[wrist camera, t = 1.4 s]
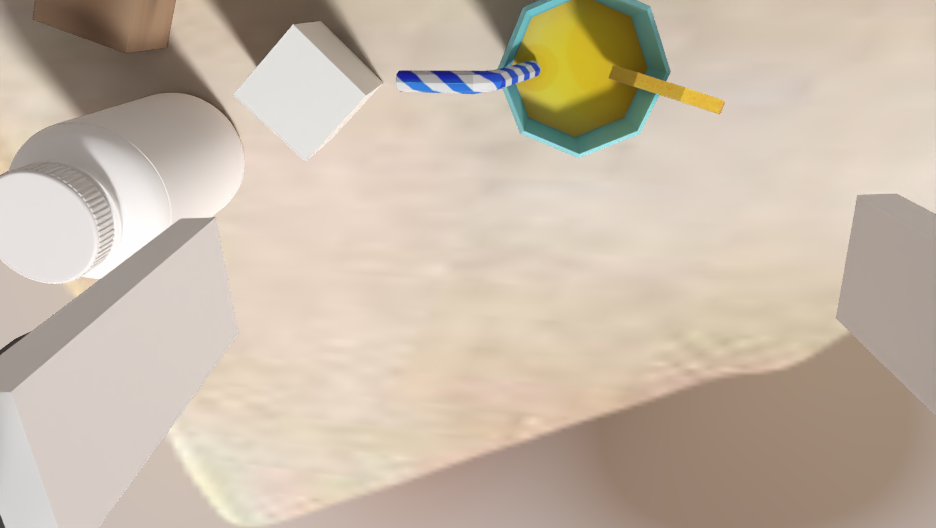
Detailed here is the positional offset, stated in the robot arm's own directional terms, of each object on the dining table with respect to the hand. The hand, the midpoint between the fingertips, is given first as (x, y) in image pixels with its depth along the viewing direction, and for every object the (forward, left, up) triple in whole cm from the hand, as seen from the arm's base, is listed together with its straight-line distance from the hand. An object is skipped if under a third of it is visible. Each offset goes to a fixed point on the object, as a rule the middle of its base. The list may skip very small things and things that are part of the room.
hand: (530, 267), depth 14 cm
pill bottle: (-14, -15, -29) cm, 36 cm away
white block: (-10, -6, -29) cm, 31 cm away
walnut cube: (-22, -8, -29) cm, 37 cm away
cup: (0, +3, -29) cm, 29 cm away
